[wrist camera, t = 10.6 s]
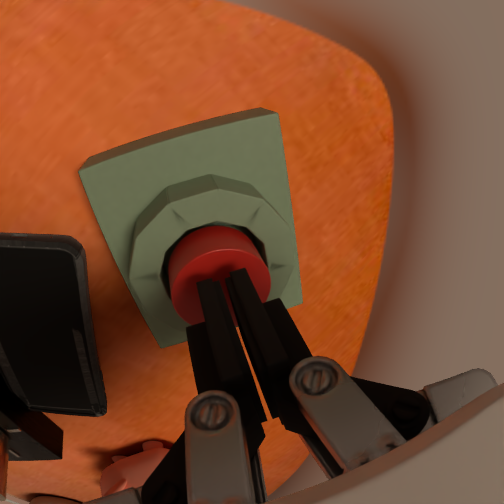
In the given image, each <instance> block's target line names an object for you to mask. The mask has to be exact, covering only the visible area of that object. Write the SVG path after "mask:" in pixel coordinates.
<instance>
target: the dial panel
mask: <svg viewBox="0 0 504 504" xmlns="http://www.w3.org/2000/svg"><path fill="white" fill-rule="evenodd" d="M0 430H2V431H3V432H4V433H5V434H6V435H7V436H8V437H9V439H10V449H9V458H8V461H35V460H57V459H62V450H63V430H61V429H60V428H59V427H58V426H57V425H55V424H54V423H53V422H52V421H51V420H50V419H48V418H47V417H46V416H45V415H44V414H43V413H42V412H38V411H31V410H30V409H29V408H28V406H27V405H26V404H25V403H24V402H23V401H22V400H21V399H20V398H19V397H18V396H17V395H16V394H15V393H14V392H13V393H12V392H11V391H10V390H9V389H8V387H7V385H6V383H5V381H4V379H3V377H2V375H1V373H0Z"/></svg>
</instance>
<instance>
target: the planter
mask: <svg viewBox="0 0 504 504" xmlns="http://www.w3.org/2000/svg"><path fill="white" fill-rule="evenodd" d="M29 504H80V503H78V502H75V501H72V500H68V499H64V498H59V497H52V496H39V497H36V498H34V499H33V500H32V501H31V502H30V503H29Z"/></svg>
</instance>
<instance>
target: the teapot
mask: <svg viewBox="0 0 504 504" xmlns="http://www.w3.org/2000/svg"><path fill="white" fill-rule="evenodd" d="M142 447H143V450H144V451H143V452H140V453H137V454H134V455H131V456H129V457H127V456H122V455H118V456H113V457H112V460H113V461H114V462H115V463H113V464H111V465H109V466H108V467H106V468H105V469H104V470H103V472H102V475H101V479H100V487H101V494H102V497H104V496H107V495H110V494H113V493H116V492H119V491H122V490H124V489H127V488H130V487H134V488H137V487H140V486H142V485H144V483H145V481H146V480H147V479H148V477H149V476H150V475H151V474H152V472H153V471H154V470H155V468H156V467H157V466H158V465H159V463H160V462H161V461H162V459H163V458H164V457H165V455H166V454H167V453H168V452H169V450H170V449H166V448H163V444H162V443H161V442H158V441H147V442H144V443H143V444H142Z"/></svg>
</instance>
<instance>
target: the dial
mask: <svg viewBox="0 0 504 504" xmlns="http://www.w3.org/2000/svg"><path fill="white" fill-rule="evenodd" d="M9 449H10V439H9V437H8V436H7V435H6V434H5V433H4V432H3V431H2V430H0V501H5V500H6V484H7V469H8V458H9Z"/></svg>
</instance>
